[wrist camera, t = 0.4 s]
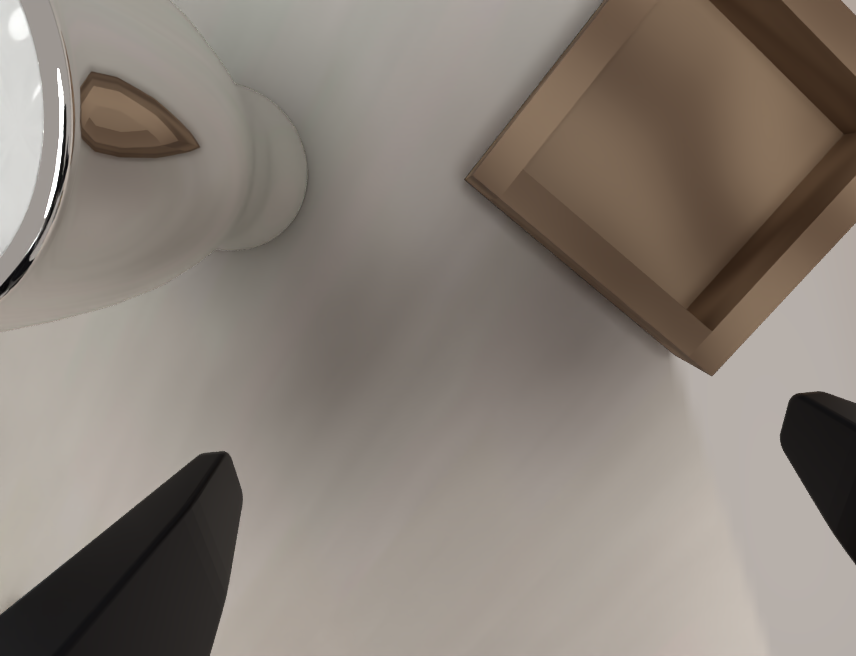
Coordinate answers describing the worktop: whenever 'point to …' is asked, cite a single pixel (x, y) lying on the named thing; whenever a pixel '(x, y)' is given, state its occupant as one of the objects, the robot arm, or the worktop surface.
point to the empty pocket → (689, 160)
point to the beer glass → (126, 156)
